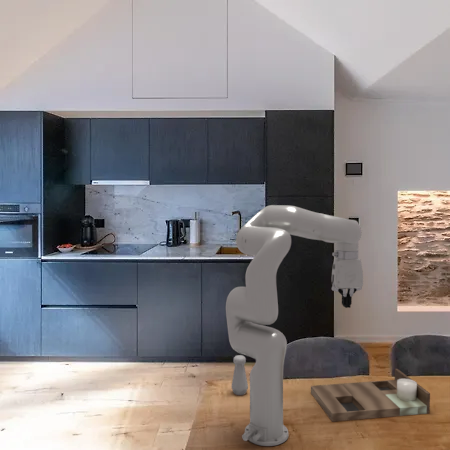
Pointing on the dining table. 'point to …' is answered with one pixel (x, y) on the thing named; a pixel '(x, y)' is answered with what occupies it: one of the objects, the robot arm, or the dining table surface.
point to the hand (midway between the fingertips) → (346, 306)
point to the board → (369, 400)
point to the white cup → (406, 389)
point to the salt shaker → (239, 376)
